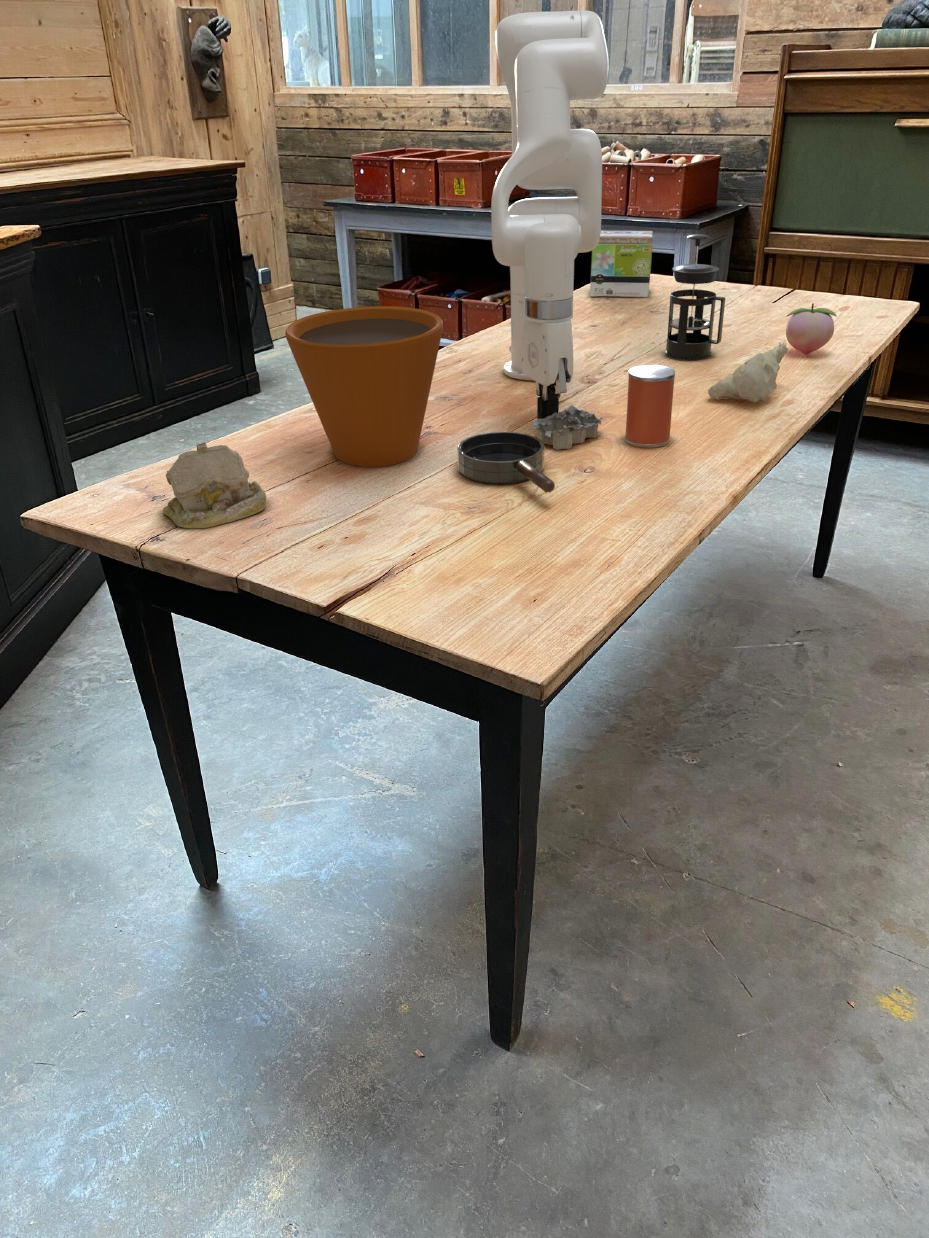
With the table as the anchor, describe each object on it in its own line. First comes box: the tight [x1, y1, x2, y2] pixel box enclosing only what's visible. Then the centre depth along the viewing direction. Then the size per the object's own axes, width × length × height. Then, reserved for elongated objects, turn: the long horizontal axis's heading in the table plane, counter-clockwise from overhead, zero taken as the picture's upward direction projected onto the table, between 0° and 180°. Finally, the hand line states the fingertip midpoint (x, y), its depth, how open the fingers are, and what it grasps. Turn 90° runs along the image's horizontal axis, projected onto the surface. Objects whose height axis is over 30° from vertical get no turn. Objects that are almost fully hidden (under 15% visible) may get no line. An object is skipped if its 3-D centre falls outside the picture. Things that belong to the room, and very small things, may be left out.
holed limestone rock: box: [707, 342, 789, 403], centre depth 166 cm, size 15×7×15 cm
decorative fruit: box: [785, 303, 838, 355], centre depth 188 cm, size 9×8×10 cm
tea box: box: [589, 230, 654, 299], centre depth 240 cm, size 15×10×15 cm, turn 81°
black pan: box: [456, 431, 546, 485], centre depth 142 cm, size 13×13×4 cm
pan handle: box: [516, 460, 556, 493], centre depth 132 cm, size 10×2×2 cm, turn 23°
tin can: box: [624, 364, 676, 449], centre depth 148 cm, size 7×7×11 cm
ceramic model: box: [162, 441, 267, 529], centre depth 131 cm, size 14×11×10 cm
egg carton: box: [531, 404, 604, 450], centre depth 152 cm, size 11×8×4 cm
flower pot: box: [284, 305, 444, 468], centre depth 147 cm, size 24×24×20 cm
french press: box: [664, 233, 726, 362], centre depth 187 cm, size 12×9×23 cm
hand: (547, 420), depth 157 cm, fingers closed
